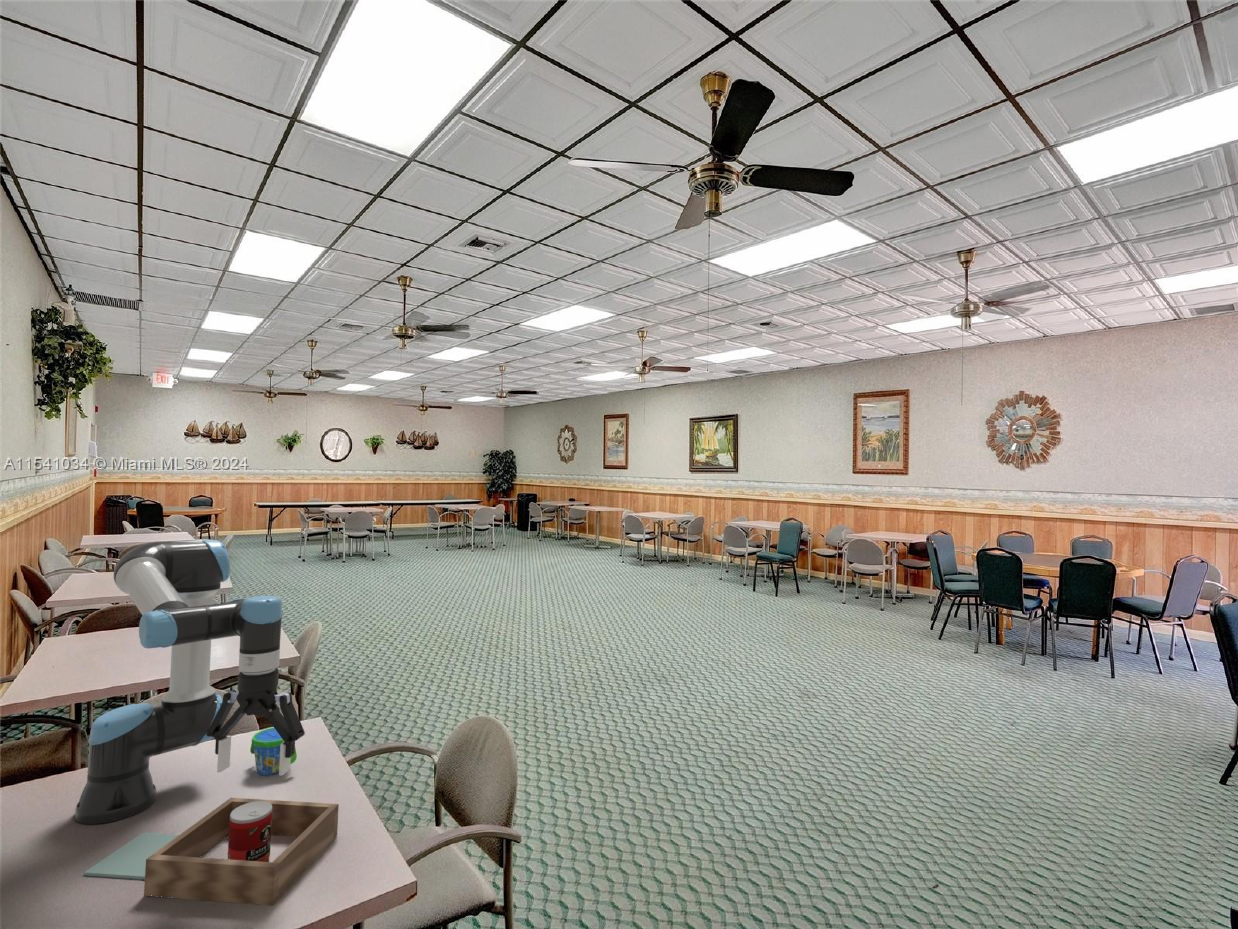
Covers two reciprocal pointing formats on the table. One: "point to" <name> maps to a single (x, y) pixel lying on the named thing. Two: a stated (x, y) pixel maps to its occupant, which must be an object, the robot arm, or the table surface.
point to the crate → (240, 880)
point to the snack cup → (268, 751)
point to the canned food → (250, 832)
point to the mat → (131, 857)
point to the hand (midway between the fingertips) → (253, 771)
